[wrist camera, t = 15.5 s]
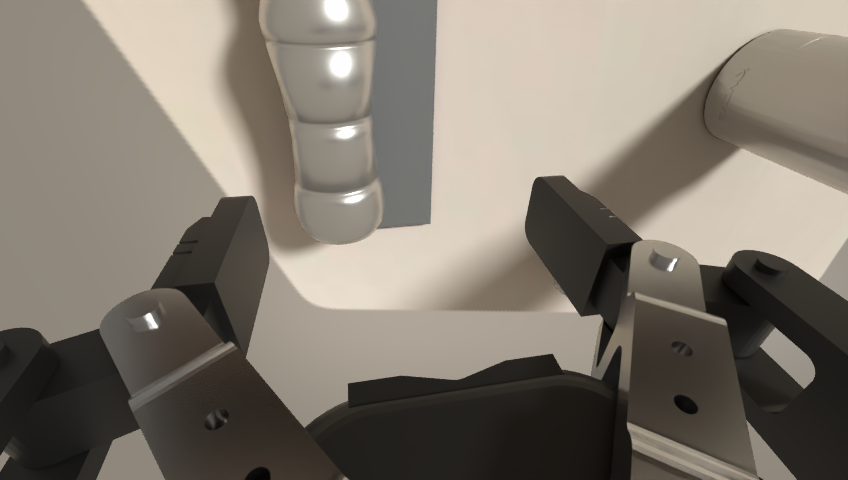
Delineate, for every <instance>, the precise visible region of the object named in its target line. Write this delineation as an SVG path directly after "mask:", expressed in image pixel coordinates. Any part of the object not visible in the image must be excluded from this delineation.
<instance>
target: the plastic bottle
mask: <svg viewBox="0 0 848 480" xmlns="http://www.w3.org/2000/svg"><path fill="white" fill-rule="evenodd" d="M258 20H259V24H260V27H261V31H262V35H263V38H265V41H266V42H265V45H266V48H267V51H268V54H269V57H270V60H271V63H272V66H273V69H274V72H275V75H276V78H277V81H278V84H279V87H280V90H281V94H282V99H283V103H284V107H285V112H286V115H287V116H288V118H289V119H288V124H289V128H290V133H291V139H292V149H293V160H294V171H295V182H294V204H295V212H296V215H297V217H298V219H299V222H300V224H301V226H302V228H303V230H304V231H305V232H306V233H308V234H309V235H310V236H311V237H313V238H314V239H315V240H317V241H320V242H323V243H327V244H337V245H339V244H349V243H354V242H357V241H360V240H363V239H365V238H367V237H368V236H370V235H371V234H372V233H373V232H374V231H375V230H376V229H377V227H378V226H379V225H380V223H381V222H382V219H383V214H384V207H385V196H384V191H383V185H382V181H381V178H380V175H379V173H378V166H377V159H376V151H375V144H374V136H373V116H372V114H371V112H372V110H373V77H374V66H375V54H376V43H377V42H376V37H377V23H378V19H377V15H376V12H375V8H374V5H373V1H372V0H260V3H259V18H258Z"/></svg>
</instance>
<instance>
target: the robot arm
mask: <svg viewBox="0 0 848 480" xmlns="http://www.w3.org/2000/svg"><path fill="white" fill-rule="evenodd" d="M704 119H705V124H706V126H707V129H708V130H709V131H710V133H711V134H712V135H714V136H716V137H718V138H720V139H722V140H724V141H727V142H729V143H731V144H734V145H736V146H738V147H741V148H743V149H745V150H747V151H750V152H752V153H754V154H756V155H758V156H761V157H763V158H765V159H768V160H770V161H772V162H774V163H777V164H779V165H781V166H784V167H786V168H788V169H791V170H793V171H795V172H798V173H800V174H802V175H804V176H807V177H809V178H811V179H814V180H816V181H818V182H821V183H823V184H825V185H828V186H830V187H832V188H834V189H837V190H839V191H841V192H844V193H846V194H848V37H843V36H837V35H829V34H821V33H813V32H805V31H797V30H776V31H772V32H768V33H766V34H764V35H762V36H759V37H757V38H756V39H754V40H753V41H751V42H750V43H748V44H747V45H745V46H744V47H743V48H742V49H741V50H739V51H738V52H737V53H736V54H735V55H734V56H733V57H732V58H731V59H730V60H729V61H728V63H727V64H726V65H725V66H724V67H723V69H722V70H721V72H720V73H719V74H718V76H717V77H716V79H715V81H714V83H713V85H712V87H711V89H710V91H709V94H708V97H707V99H706V103H705V109H704ZM525 232H526V236H527V239H528V241H529V243H530V244H531V246H532V247H533V248H534V250H535V251H536V253H537V254H538V256H539V257H540V258H541V260H542V261H543V263H544V264H545V266H546V267H547V268H548V270H549V271H550V273H551V274H552V276H553V277H554V278H555V280H556V281H557V283H558V284H559V286H560V287H561V289H562V290H563V291H564V293H565V294H566V296H567V297H568V299H569V300H570V301H571V303H572V304H573V306H574V307H575V309H576V310H577V311H578V313H579V314H580V316H590V315H598V314H600V315H601V316H602V317H603V319H602V321H601V323H600V326H599V330H598V336H597V341H596V347H595V354H594V359H593V365H592V371H591V376H588V375H584V374H581V373H577V372H573V371H568V370H561V368H560V366H559V364H558V363H557V361H556V359H555V358H554V356H553V354H548V355H541V356H534V357H527V358H520V359H514V360H506V361H503V362H501V363H499V364H496V365H494V366H491V367H489V368H487V369H484V370H482V371H480V372H477V373H475V374H472V375H470V376H468V377H466V378H463V379H459V380H447V379H435V378H422V377H411V376H396V377H390V378H382V379H376V380H369V381H362V382H355V383H349V384H348V401H347V402H344V403H342V404H339V405H337V406H335V407H333V408H332V409H330V410H328V411H326V412H325V413H323V414H322V415H320V416H319V417H317V418H316V419H314V420H313V421H312V422H311V423H310V424H309V425H307V426H306V427H305V428H304V427H303V426H302V425H301V423H300V422H299V421H298V420H297V419H296V418H295V416H294V415H293V414H292V413H291V411H290V410H289V409H288V408H287V407H286V406H285V404H284V403H283V402H282V401H281V399H280V398H279V397H278V396H277V395H276V394H275V392H274V391H273V390H272V389H271V388H270V386H269V385H268V384H267V383H266V382H265V380H264V379H263V378H262V377H261V376H260V374H259V373H258V372H257V371H256V370H255V368H254V367H253V366H252V365H251V364H250V362H249V361H248V360H247V359H246V355H247V351H248V347H249V342H250V339H251V335H252V331H253V327H254V323H255V319H256V315H257V310H258V307H259V303H260V298H261V294H262V290H263V286H264V282H265V278H266V274H267V270H268V266H269V248H268V243H267V239H266V235H265V232H264V228H263V224H262V221H261V217H260V213H259V210H258V206H257V203H256V200H255V198H254V197H253V196H239V197H224V198H221V199H220V201H219V203H218V205H217V206H216V208H215V210H214V212H213V214H212V216H211V217H202V218H201V219H200V220H198V221H197V222H196V223H194V224H193V225H192V226H190V227H189V228H188V229H187V230H186V232H185V233H184V235H183V237H182V238H181V240H180V242H179V243H180V244H178V245H177V247H176V248H175V250H174V252H173V255H171V257H170V258H169V260H168V262H167V263H166V265H165V266H164V268H163V270H162V271H161V273H160V275H159V277H158V278H157V280H156V281H155V283H154V285H153V286H152V288H151V290H148V291H144V292H141V293H139V294H136V295H133V296H131V297H129V298H127V299H125V300H124V301H122V302H120V303H119V304H118V305H116V306H115V307H113V308H112V309H111V310H110V311H109V312H108V313H107V314H106V315H105V317H104V318H103V320H102V321H101V324H100V328H99V329H96V330H94V331H90V332H87V333H84V334H80V335H78V336H74V337H71V338H67V339H64V340H61V341H58V342H55V343H51V344H49V343H48V342H47V340H46V339H45V338H44V337H43V336H42V335H41V333H39V332H38V331H37V330H35V329H31V328H13V329H8V330H4V331H0V455H1V454H2V452H3V451H4V452H5V453H7V454H8V455H9V456H10V457H9V459H8V460H7V462H6V464H5V465H4V467H3V468H2V470H1V472H0V480H96V479H97V476H98V474H99V471H100V469H101V467H102V464H103V462H104V460H105V457H106V455H107V453H108V450H109V448H110V445H111V443H112V441H113V440H114V439H116V438H119V437H121V436H123V435H126V434H128V433H131V432H133V431H136V430H138V429H141V431H142V433H143V435H144V437H145V439H146V441H147V443H148V445H149V447H150V450H151V451H152V454H153V456H154V458H155V460H156V462H157V464H158V466H159V468H160V470H161V472H162V474H163V476H164V478H165V480H763V479H762V478H760V477H758V475H757V471H756V466H755V461H754V456H753V451H752V446H751V441H750V436H749V431H748V426H747V421H748V422H749V423H750V424H751V426H752V427H753V428H754V429H755V430H756V431H757V433H758V434H759V435H760V436H761V437H762V439H763V440H764V441H765V442H766V443H767V444H768V446H769V447H770V448H771V449H772V450H773V452H774V453H775V454H776V455H777V456H778V457H779V459H780V460H781V461H782V462H783V463H784V465H785V466H786V467H787V468H788V469H789V470H790V472H791V473H792V474H793V475H794V476H795V478H796V479H797V480H848V301H847V300H845V299H844V298H842V297H841V296H840V295H838V294H836V293H835V292H834V291H832V290H831V289H829V288H828V287H826V286H825V285H823V284H822V283H820V282H819V281H818V280H816V279H815V278H813V277H812V276H810V275H809V274H807V273H806V272H804V271H803V270H802V269H800V268H799V267H797V266H796V265H794V264H792V263H790V262H789V261H787V260H785V259H782V258H780V257H777V256H775V255H772V254H769V253H765V252H760V251H754V250H742V251H738V252H736V253H735V254H734V255H733V256H732V258H731V260H730V261H729V263H728V265H727V266H726V267H717V266H708V265H699V264H698V262H697V260H696V259H695V258H694V257H693V256H692V255H691V254H690V253H688V252H687V251H685V250H684V249H682V248H680V247H678V246H676V245H673V244H670V243H667V242H663V241H658V240H643V239H641V238H640V237H639V236H638V235H637V234H636V233H635V232H633V231H632V230H631V229H630V228H629V227H628V226H627V225H626V224H624V223H623V222H622V221H621V220H620V219H619V218H618V217H615V215H614V214H613V213H612V212H611V211H610V210H609V209H606V207H605V206H604V205H603V204H602V203H601V202H600V201H598V200H597V199H596V198H595V197H593V196H591V195H589V194H587V193H585V192H583V191H581V190H579V189H578V188H577V187H576V186H575V185H573V184H572V183H571V182H570V181H569V180H568V179H567V178H566V177H564V176H546V177H537V178H536V179H535V181H534V183H533V187H532V191H531V196H530V201H529V206H528V211H527V216H526V221H525ZM775 327H776V328H777V329H778V330H779V331H780V332H782V333H783V334H784V335H785V336H786V337H787V338H788V339H789V340H791V341H792V342H793V343H794V344H795V345H796V346H798V347H799V348H800V349H801V350H802V351H803V352H804V353H806V354H807V355H808V356H809V358H810V359H811V361H812V362H813V364H814V367H815V377H814V380H813V381H812V382H811V383H810V384H809V385H808V386H807V387H806V388H805V389H803V388H802V387H801V386H800V385H799V384H798V383H797V382H796V381H795V380H794V379H793V378H792V377H791V376H790V375H789V374H788V373H787V372H786V371H785V370H783V369H782V368H781V367H780V366H779V365H778V364H777V363H776V362H775V361H774V360H773V359H772V358H771V357H770V356H769V355H768V354H767V353H766V352H765V351H764V350H763V349H762V348H761V347H760V345H761V344H762V343H763V341H764V340H765V339H766V338H767V337H768V336H769V334H770V333H771V332H772V331H773V329H774V328H775ZM746 420H747V421H746Z"/></svg>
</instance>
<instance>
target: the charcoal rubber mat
mask: <svg viewBox="0 0 848 480" xmlns="http://www.w3.org/2000/svg"><path fill="white" fill-rule="evenodd" d="M372 1H373V5H374V8H375V12H376V15H377V19H378V23H377V37H376V42H377V43H376V54H375V66H374V77H373V110H372V112H371V114H372V116H373V136H374V144H375V151H376V159H377V166H378V173H379V175H380V178H381V181H382V185H383V191H384V196H385V207H384V214H383V219H382V222H381V223H380V225H379V226H378V227H377V228H386V227H397V226H409V225H421V224H430V217H431V184H432V152H433V120H434V87H435V55H436V23H437V0H372Z"/></svg>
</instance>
